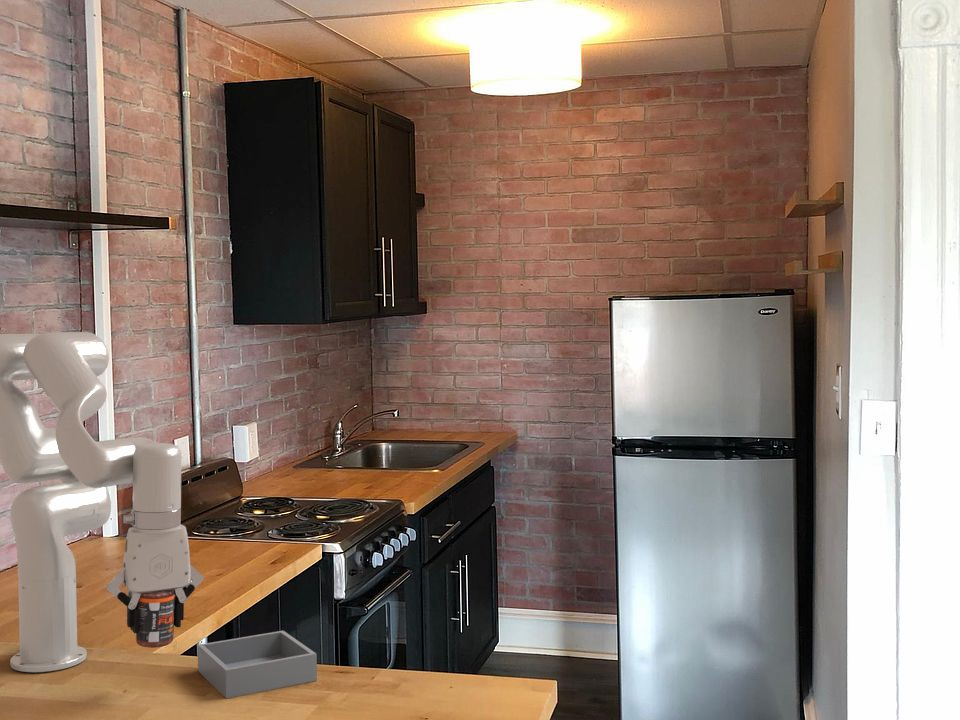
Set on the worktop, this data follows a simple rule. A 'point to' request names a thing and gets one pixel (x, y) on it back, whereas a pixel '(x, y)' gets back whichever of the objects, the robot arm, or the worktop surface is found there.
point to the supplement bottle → (156, 618)
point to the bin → (256, 663)
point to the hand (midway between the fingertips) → (155, 626)
